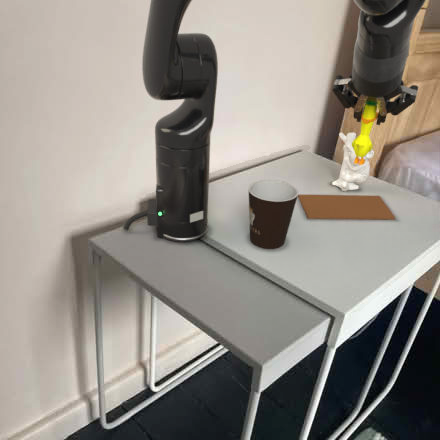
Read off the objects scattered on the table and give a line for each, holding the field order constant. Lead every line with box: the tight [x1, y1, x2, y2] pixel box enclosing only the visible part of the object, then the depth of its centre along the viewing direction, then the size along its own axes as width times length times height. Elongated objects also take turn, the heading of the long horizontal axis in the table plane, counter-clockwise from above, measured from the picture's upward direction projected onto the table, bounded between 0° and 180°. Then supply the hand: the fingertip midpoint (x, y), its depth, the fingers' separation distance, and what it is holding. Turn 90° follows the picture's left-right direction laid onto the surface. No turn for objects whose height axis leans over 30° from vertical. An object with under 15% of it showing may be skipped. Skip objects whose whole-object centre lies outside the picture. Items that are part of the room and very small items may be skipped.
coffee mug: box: [248, 179, 299, 250], centre depth 90 cm, size 12×9×10 cm
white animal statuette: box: [331, 131, 375, 192], centre depth 109 cm, size 8×7×12 cm
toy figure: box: [352, 101, 379, 165], centre depth 88 cm, size 7×4×12 cm, turn 151°
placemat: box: [297, 194, 396, 221], centre depth 104 cm, size 18×10×1 cm, turn 94°
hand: (369, 118), depth 89 cm, fingers closed on toy figure, 3 cm apart
